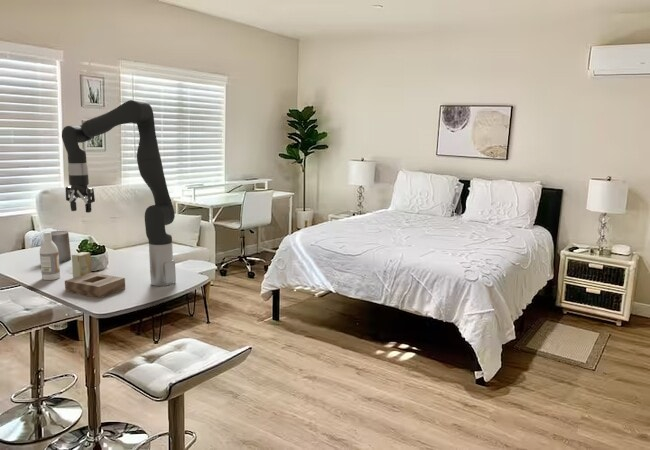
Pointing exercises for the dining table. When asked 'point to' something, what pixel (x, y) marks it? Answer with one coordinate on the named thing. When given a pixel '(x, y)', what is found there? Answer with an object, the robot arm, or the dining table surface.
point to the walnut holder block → (95, 285)
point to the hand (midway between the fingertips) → (81, 211)
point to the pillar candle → (62, 244)
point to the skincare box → (81, 264)
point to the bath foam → (49, 258)
